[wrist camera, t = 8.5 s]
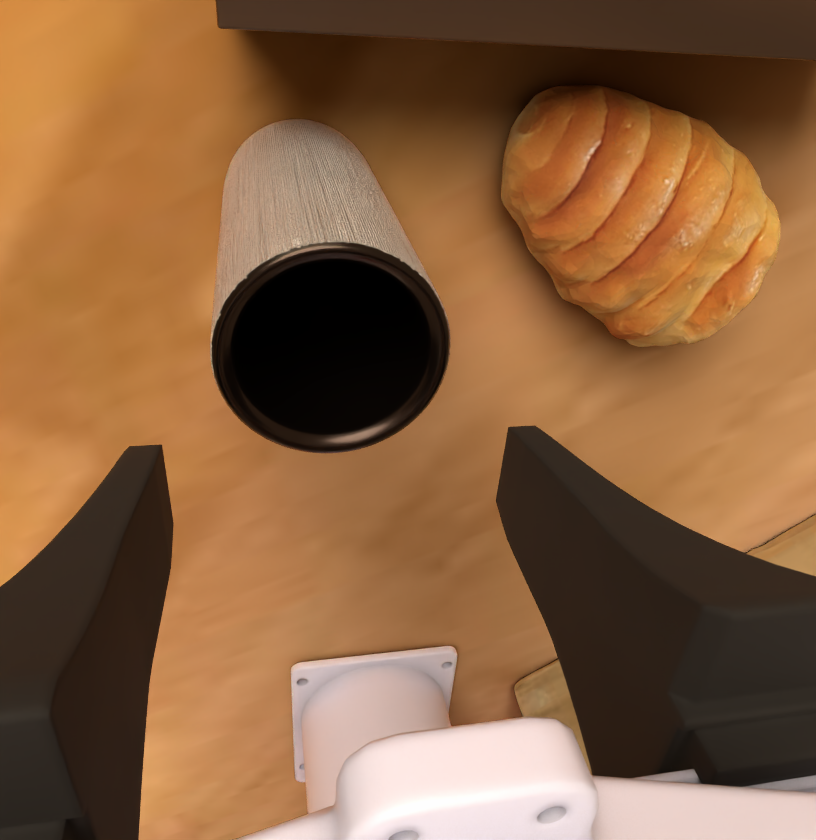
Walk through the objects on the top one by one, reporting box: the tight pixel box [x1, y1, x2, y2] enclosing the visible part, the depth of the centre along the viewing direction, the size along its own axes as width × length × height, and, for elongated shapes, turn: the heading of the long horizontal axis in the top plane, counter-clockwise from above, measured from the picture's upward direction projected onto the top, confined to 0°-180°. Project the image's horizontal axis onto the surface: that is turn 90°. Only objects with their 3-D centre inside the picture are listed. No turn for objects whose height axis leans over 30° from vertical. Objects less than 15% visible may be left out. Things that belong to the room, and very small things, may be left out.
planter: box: [210, 119, 450, 453], centre depth 18 cm, size 4×4×10 cm
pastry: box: [501, 85, 780, 347], centre depth 22 cm, size 9×7×4 cm
